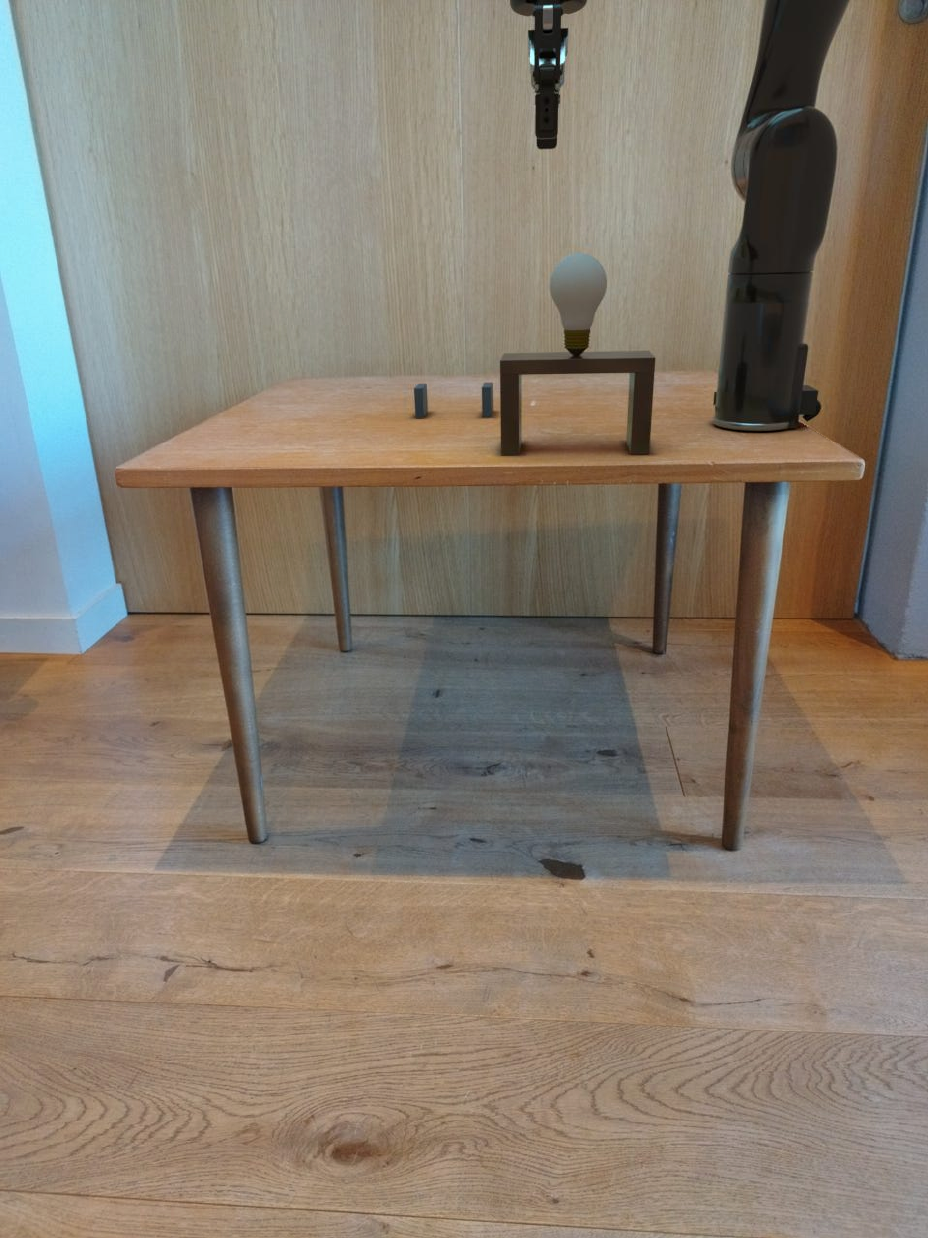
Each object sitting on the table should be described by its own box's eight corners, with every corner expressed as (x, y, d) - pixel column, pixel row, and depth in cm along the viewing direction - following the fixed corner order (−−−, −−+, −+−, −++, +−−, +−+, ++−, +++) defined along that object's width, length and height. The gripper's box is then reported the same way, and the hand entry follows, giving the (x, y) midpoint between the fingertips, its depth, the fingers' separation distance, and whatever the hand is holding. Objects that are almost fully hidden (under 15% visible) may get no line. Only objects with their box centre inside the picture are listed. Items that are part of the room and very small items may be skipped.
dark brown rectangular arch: (643, 441, 94) (649, 350, 90) (649, 454, 88) (655, 357, 84) (504, 442, 95) (503, 353, 91) (500, 455, 90) (499, 360, 86)
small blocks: (493, 411, 114) (492, 382, 112) (491, 417, 110) (490, 386, 109) (419, 412, 115) (418, 383, 114) (415, 417, 112) (413, 387, 110)
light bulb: (577, 359, 84) (579, 253, 80) (537, 355, 88) (538, 254, 84) (615, 354, 87) (620, 251, 83) (575, 350, 91) (578, 252, 87)
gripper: (592, -83, 71) (586, 133, 78) (586, -31, 84) (580, 150, 91) (506, -77, 72) (506, 136, 78) (512, -27, 85) (513, 153, 91)
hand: (546, 143), depth 84 cm, fingers open, 8 cm apart
